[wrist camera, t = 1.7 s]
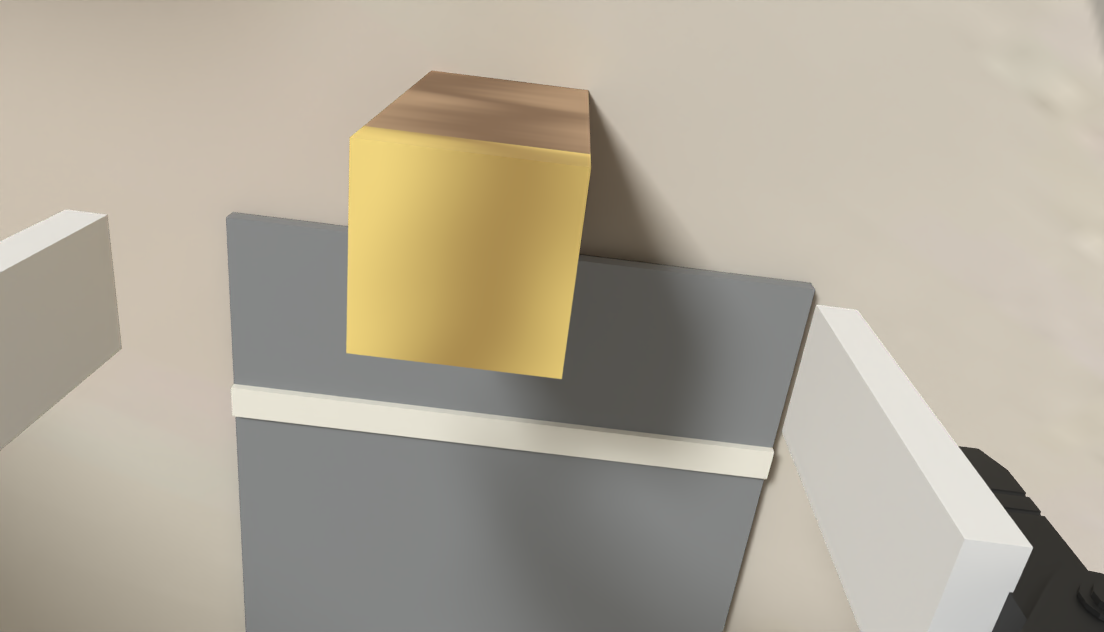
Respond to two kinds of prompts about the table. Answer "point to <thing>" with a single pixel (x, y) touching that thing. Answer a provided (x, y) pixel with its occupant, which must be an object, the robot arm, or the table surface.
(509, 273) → the block
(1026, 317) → the table surface
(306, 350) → the mat
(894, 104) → the table surface
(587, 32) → the table surface
